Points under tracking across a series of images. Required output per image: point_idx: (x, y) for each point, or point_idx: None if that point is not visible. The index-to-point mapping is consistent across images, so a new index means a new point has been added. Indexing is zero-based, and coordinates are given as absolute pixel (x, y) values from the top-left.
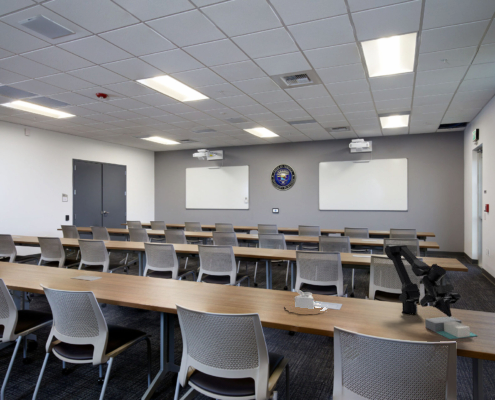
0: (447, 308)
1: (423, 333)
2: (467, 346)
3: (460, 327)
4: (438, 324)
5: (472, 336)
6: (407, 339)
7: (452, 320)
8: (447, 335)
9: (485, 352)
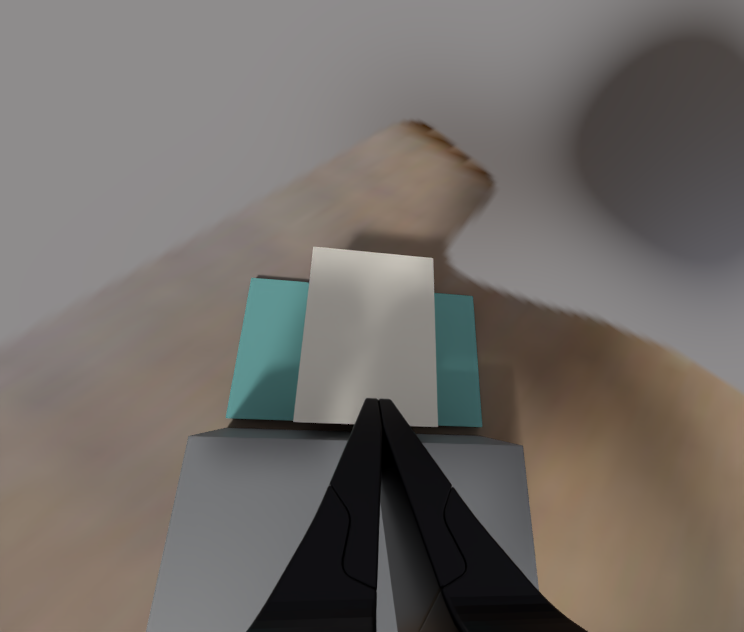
0: (377, 511)
1: (577, 441)
2: (447, 197)
3: (395, 265)
4: (479, 442)
5: (294, 283)
6: (718, 379)
7: (278, 475)
8: (453, 339)
9: (419, 129)
